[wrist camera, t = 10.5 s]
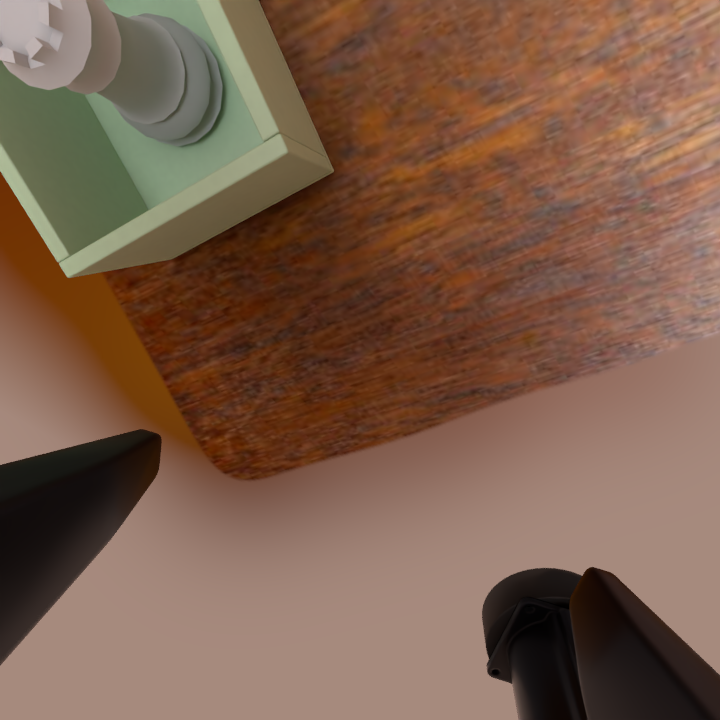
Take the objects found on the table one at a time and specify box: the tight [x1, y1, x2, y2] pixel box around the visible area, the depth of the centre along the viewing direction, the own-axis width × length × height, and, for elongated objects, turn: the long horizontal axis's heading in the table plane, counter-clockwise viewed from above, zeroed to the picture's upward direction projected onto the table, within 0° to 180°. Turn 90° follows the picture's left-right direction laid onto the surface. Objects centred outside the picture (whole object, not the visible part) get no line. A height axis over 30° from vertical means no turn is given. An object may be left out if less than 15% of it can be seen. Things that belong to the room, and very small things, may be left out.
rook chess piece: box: [0, 0, 223, 146], centre depth 14 cm, size 4×4×8 cm
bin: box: [0, 0, 334, 278], centre depth 16 cm, size 11×9×7 cm
